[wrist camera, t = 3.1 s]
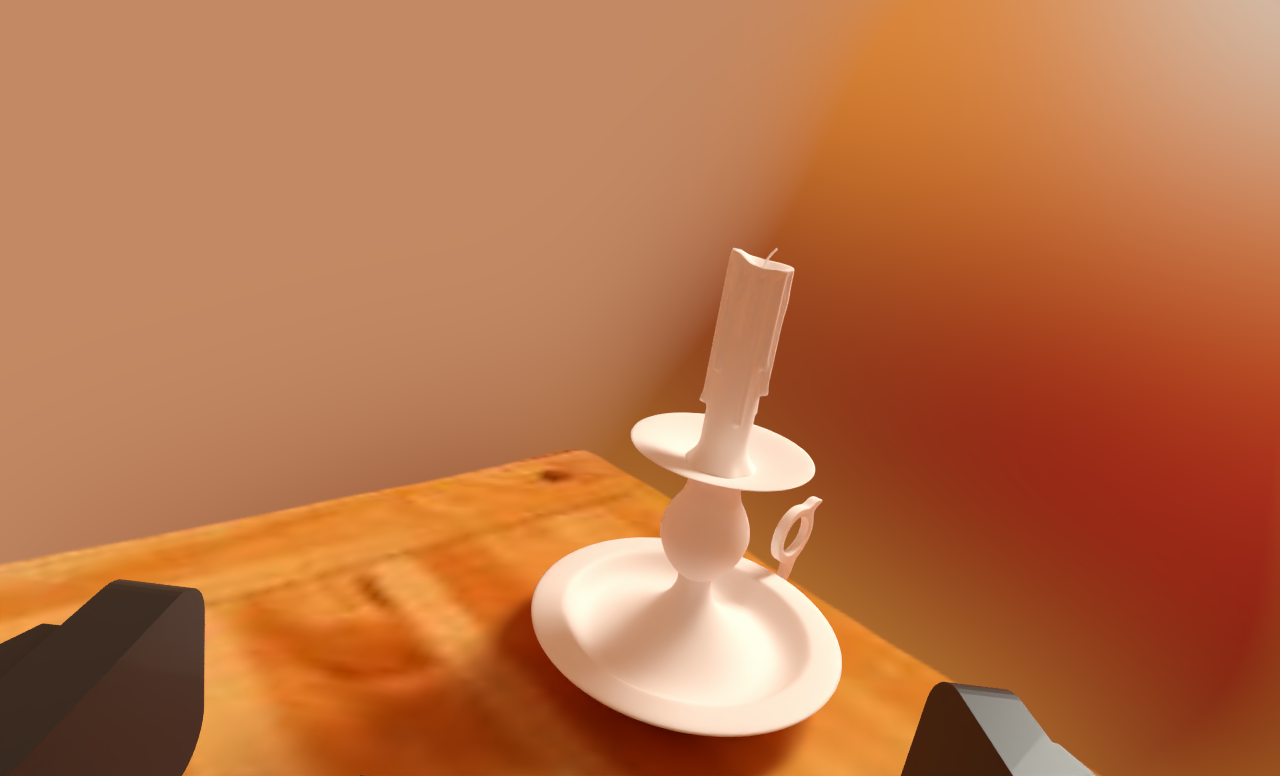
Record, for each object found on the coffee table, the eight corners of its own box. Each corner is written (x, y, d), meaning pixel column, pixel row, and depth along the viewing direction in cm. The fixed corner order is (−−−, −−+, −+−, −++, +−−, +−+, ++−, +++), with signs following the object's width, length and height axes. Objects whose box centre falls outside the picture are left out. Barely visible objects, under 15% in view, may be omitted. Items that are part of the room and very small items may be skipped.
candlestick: (912, 661, 56) (1035, 285, 47) (694, 847, 38) (827, 301, 29) (699, 534, 68) (764, 221, 60) (463, 629, 51) (507, 205, 42)
